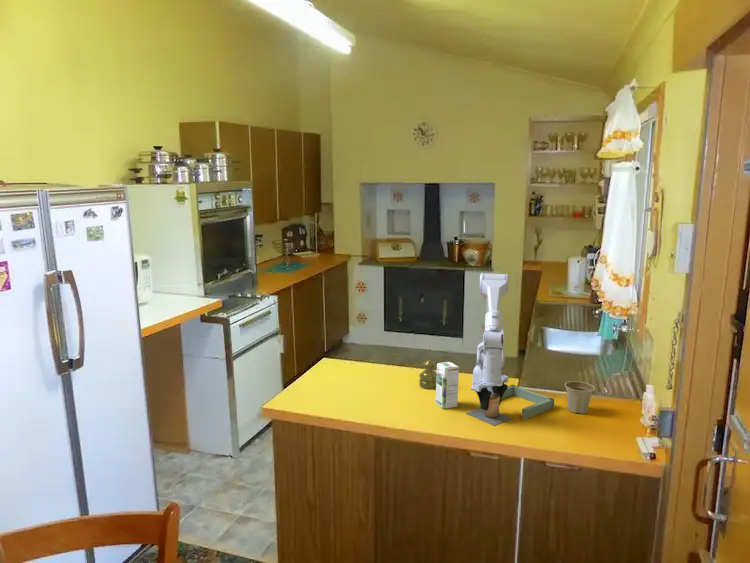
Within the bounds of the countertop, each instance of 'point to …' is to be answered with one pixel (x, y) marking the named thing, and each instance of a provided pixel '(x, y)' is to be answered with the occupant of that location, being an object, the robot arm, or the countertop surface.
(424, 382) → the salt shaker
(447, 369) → the syrup box
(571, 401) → the flower pot
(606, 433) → the countertop surface
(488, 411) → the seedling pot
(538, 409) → the green u-shaped frame
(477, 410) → the rubber mat
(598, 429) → the countertop surface
